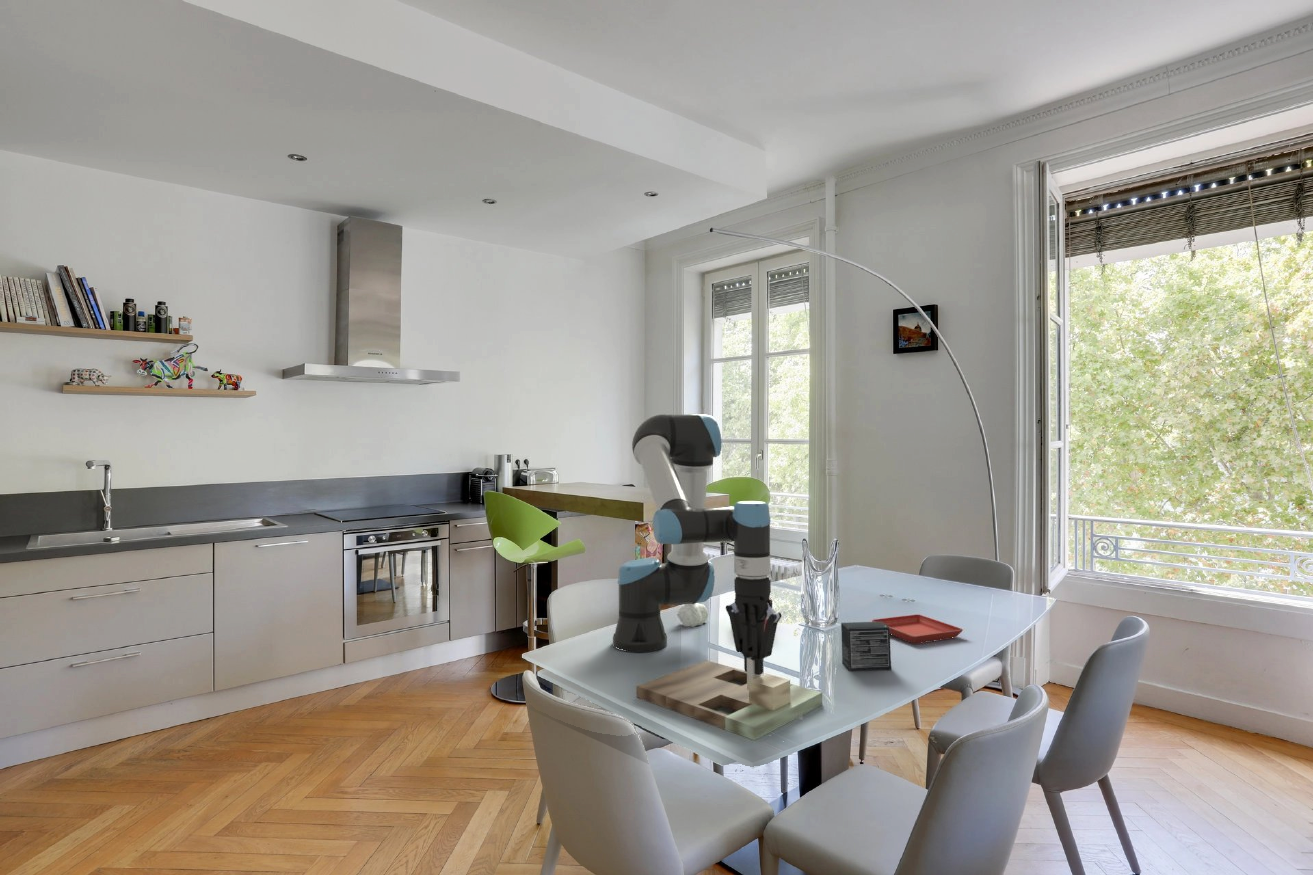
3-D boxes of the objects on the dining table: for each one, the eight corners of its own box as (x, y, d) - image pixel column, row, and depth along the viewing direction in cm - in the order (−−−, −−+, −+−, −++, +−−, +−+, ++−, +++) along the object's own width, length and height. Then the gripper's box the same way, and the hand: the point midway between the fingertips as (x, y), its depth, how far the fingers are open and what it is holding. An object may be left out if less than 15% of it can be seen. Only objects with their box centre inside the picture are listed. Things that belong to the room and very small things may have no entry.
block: (749, 702, 138) (748, 680, 138) (766, 694, 142) (766, 673, 142) (773, 710, 133) (773, 687, 133) (790, 702, 137) (790, 679, 138)
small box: (882, 661, 170) (881, 620, 170) (892, 670, 164) (891, 627, 164) (841, 662, 170) (840, 621, 170) (849, 671, 163) (848, 628, 163)
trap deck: (636, 697, 148) (636, 685, 148) (707, 670, 165) (707, 660, 165) (754, 740, 126) (754, 726, 126) (822, 704, 143) (822, 692, 143)
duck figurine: (704, 627, 213) (688, 595, 218) (718, 615, 209) (701, 584, 214) (677, 634, 205) (661, 601, 210) (691, 623, 201) (674, 589, 206)
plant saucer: (964, 640, 189) (964, 628, 189) (913, 647, 183) (913, 635, 183) (918, 624, 206) (918, 613, 206) (870, 630, 200) (870, 619, 200)
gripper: (716, 574, 143) (718, 685, 142) (767, 582, 134) (769, 701, 133) (738, 569, 148) (740, 676, 148) (788, 576, 139) (790, 691, 139)
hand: (753, 688), depth 140 cm, fingers closed
